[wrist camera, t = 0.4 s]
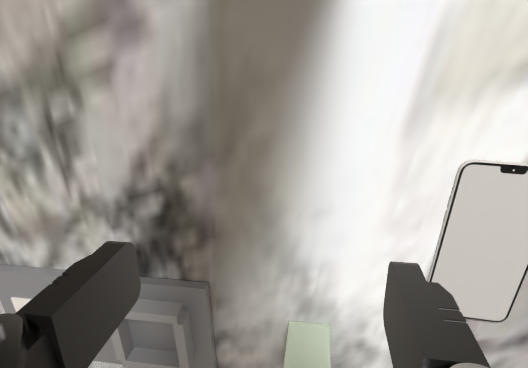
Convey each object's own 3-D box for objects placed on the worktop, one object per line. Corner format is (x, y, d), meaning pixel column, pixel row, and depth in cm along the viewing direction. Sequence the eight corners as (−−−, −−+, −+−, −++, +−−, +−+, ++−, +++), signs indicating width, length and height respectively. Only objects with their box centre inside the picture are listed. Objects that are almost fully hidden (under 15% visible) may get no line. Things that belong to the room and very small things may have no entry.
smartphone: (419, 313, 33) (461, 159, 26) (417, 307, 33) (458, 156, 27) (506, 324, 32) (572, 168, 25) (503, 319, 32) (566, 165, 26)
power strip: (-5, 264, 39) (-28, 280, 36) (208, 282, 35) (199, 302, 33) (37, 367, 45) (20, 387, 43) (220, 391, 42) (213, 415, 39)
